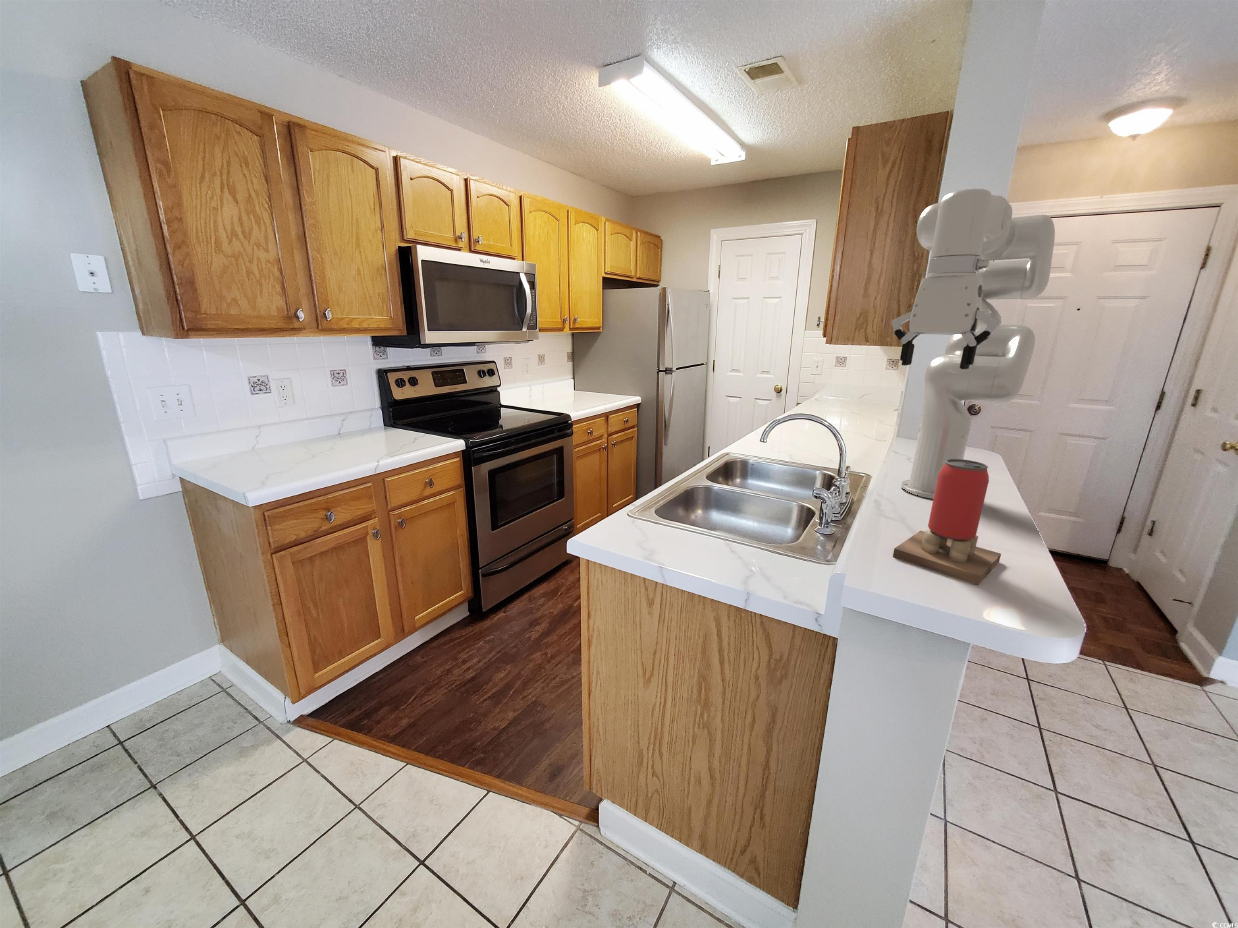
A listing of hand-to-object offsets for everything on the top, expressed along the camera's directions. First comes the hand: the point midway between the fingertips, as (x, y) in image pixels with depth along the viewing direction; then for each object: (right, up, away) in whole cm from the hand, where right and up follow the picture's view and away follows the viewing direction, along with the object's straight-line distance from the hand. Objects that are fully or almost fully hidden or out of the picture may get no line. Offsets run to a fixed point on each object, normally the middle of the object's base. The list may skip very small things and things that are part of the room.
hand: (934, 366), depth 91 cm
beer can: (-5, -30, -11) cm, 32 cm away
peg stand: (-5, -34, -11) cm, 36 cm away
